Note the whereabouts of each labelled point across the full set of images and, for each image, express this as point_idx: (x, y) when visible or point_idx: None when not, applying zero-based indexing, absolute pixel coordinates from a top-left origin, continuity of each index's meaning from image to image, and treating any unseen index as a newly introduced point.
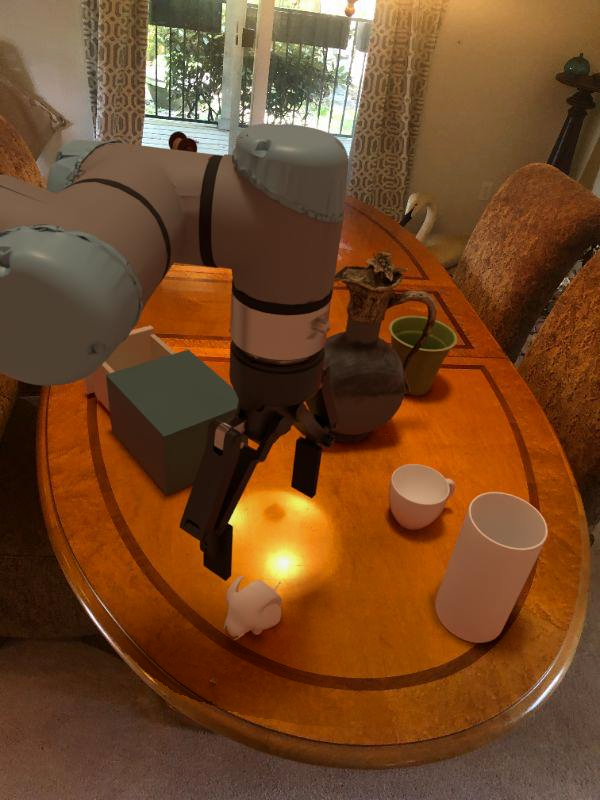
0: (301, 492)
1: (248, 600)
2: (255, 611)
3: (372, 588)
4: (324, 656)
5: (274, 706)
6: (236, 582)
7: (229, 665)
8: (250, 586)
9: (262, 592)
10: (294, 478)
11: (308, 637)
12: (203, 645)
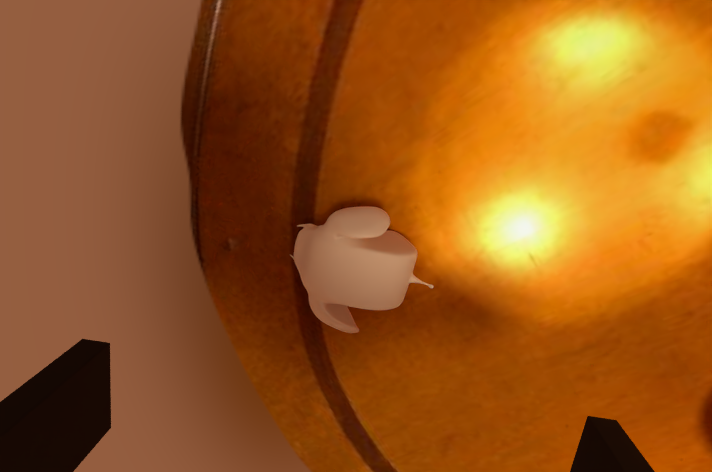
0: (574, 460)
1: (333, 273)
2: (320, 297)
3: (544, 395)
4: (370, 375)
5: (253, 344)
6: (351, 234)
7: (269, 252)
8: (367, 259)
9: (369, 287)
10: (609, 464)
11: (388, 340)
12: (274, 192)
